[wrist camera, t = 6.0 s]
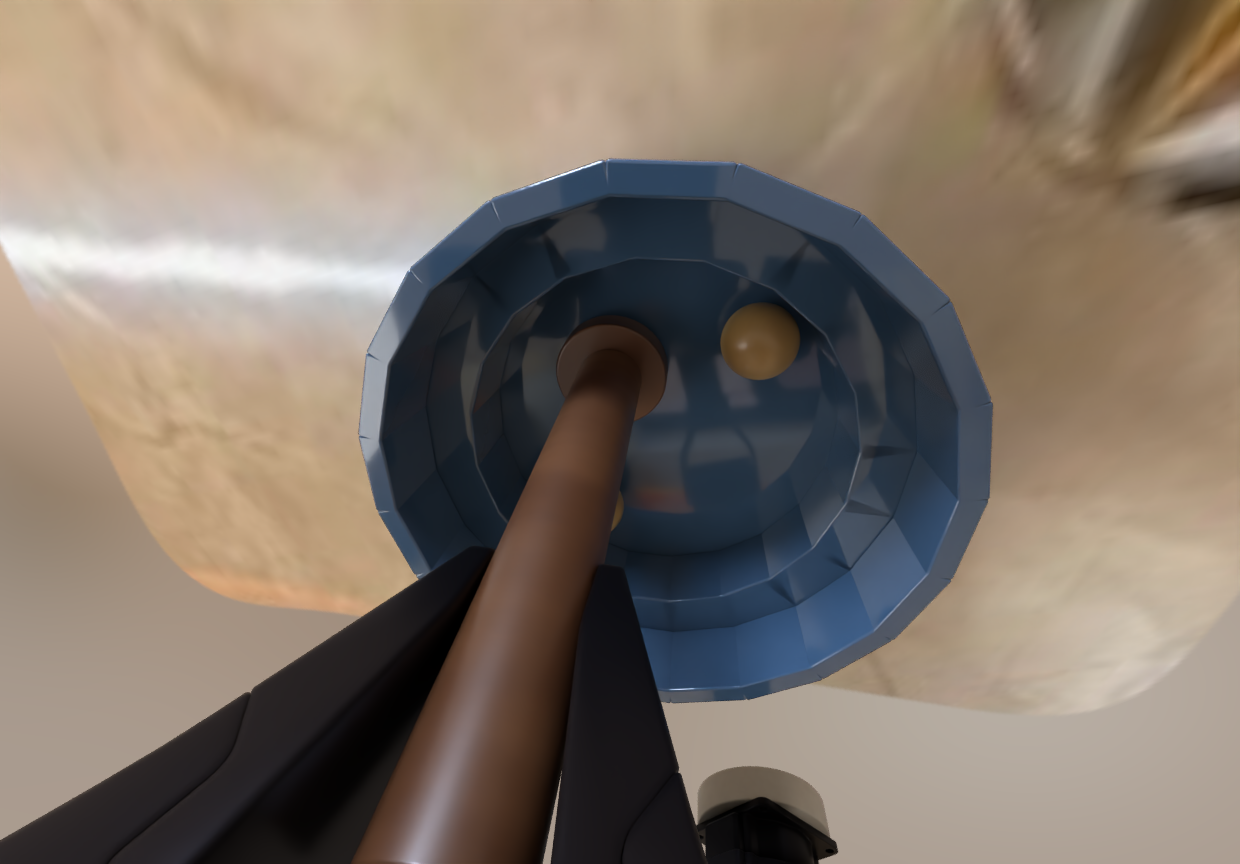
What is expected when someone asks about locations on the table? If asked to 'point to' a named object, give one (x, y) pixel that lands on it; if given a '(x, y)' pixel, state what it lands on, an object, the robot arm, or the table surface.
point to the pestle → (523, 630)
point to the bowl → (696, 412)
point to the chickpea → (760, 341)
